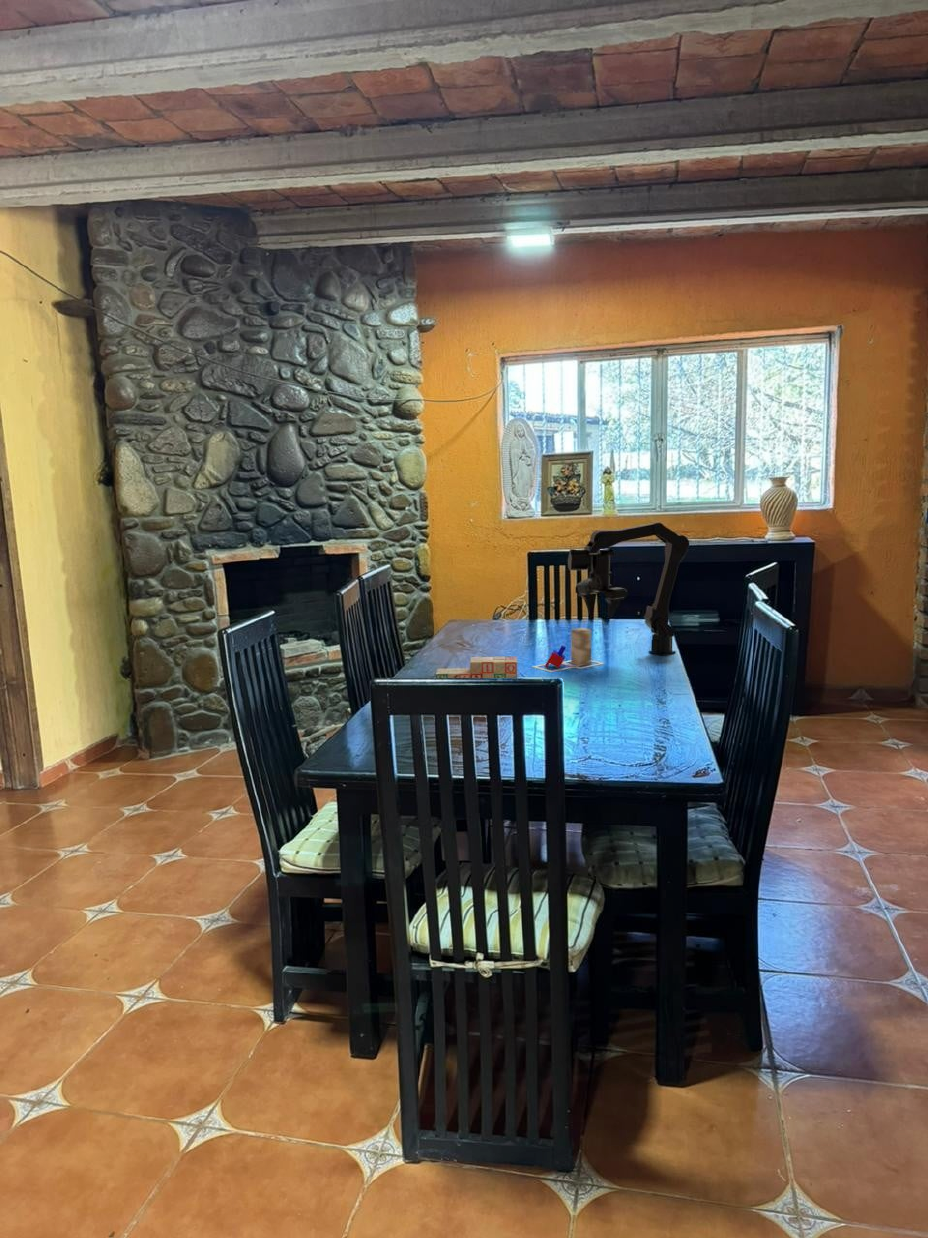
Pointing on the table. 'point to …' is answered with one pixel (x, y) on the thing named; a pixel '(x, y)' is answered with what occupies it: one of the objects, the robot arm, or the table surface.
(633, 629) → the table surface
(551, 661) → the toy building block
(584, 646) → the beech pillar
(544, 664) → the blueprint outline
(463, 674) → the stack of blocks
